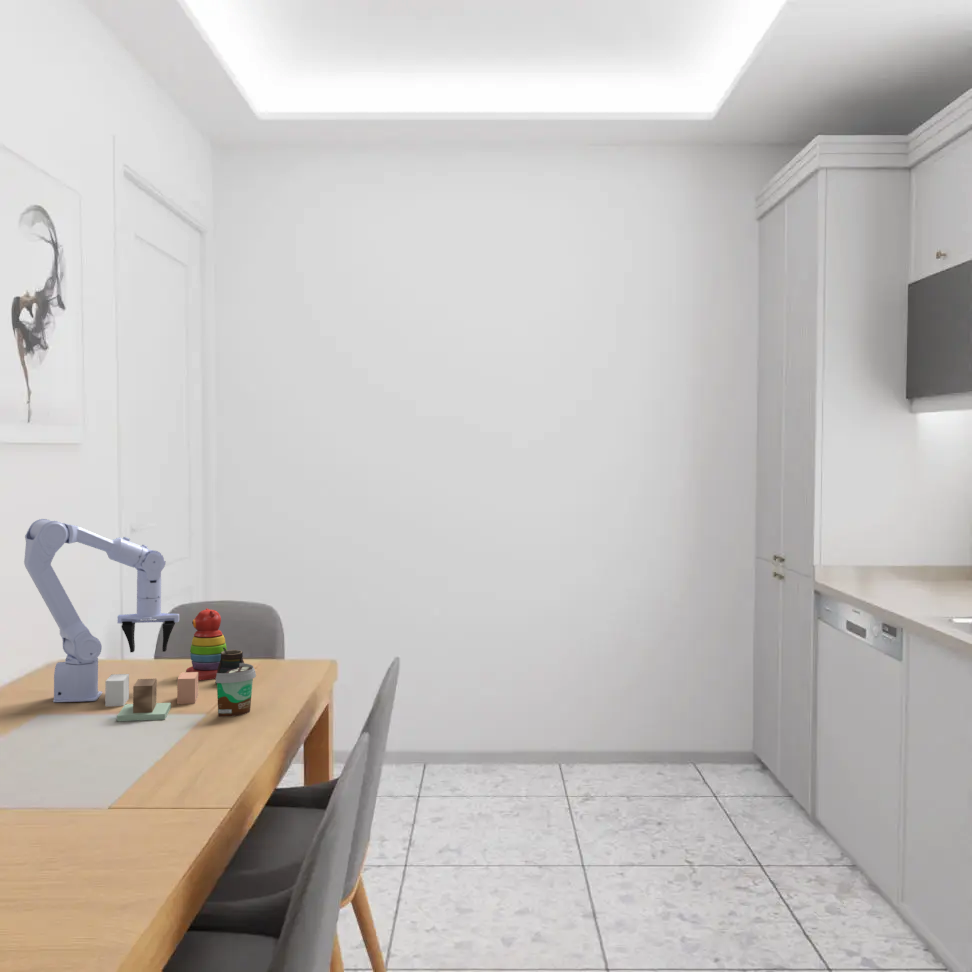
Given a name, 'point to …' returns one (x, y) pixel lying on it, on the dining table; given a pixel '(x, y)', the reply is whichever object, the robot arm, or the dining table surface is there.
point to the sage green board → (157, 714)
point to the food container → (235, 690)
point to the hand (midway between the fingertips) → (148, 651)
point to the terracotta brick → (187, 688)
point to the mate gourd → (230, 660)
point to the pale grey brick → (117, 690)
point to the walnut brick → (144, 695)
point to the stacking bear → (206, 645)
